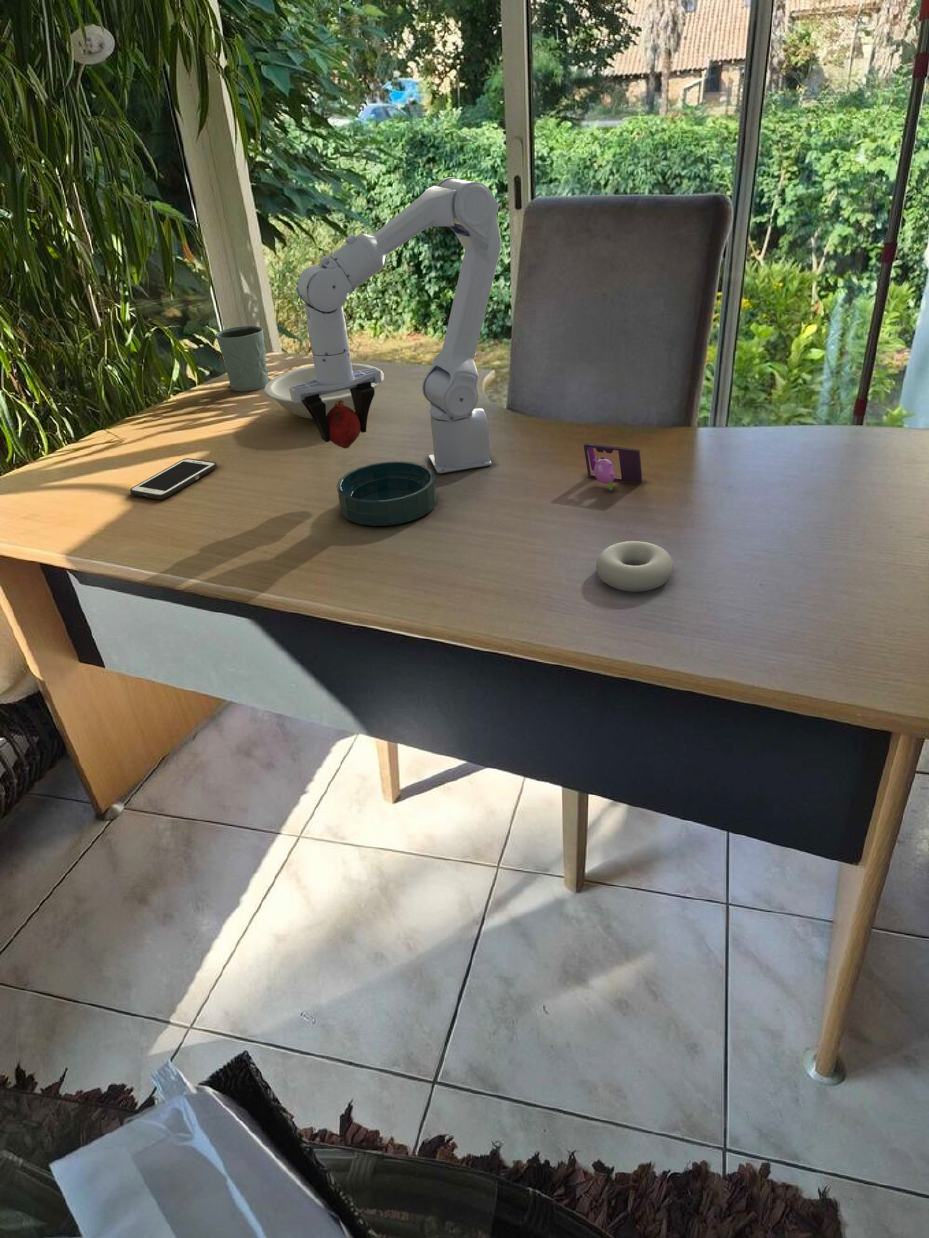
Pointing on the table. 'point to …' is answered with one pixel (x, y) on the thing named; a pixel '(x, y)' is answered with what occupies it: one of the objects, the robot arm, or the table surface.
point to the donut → (634, 566)
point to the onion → (342, 425)
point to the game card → (604, 467)
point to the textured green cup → (244, 357)
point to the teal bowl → (387, 493)
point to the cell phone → (173, 478)
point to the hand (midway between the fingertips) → (344, 435)
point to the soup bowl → (283, 382)
